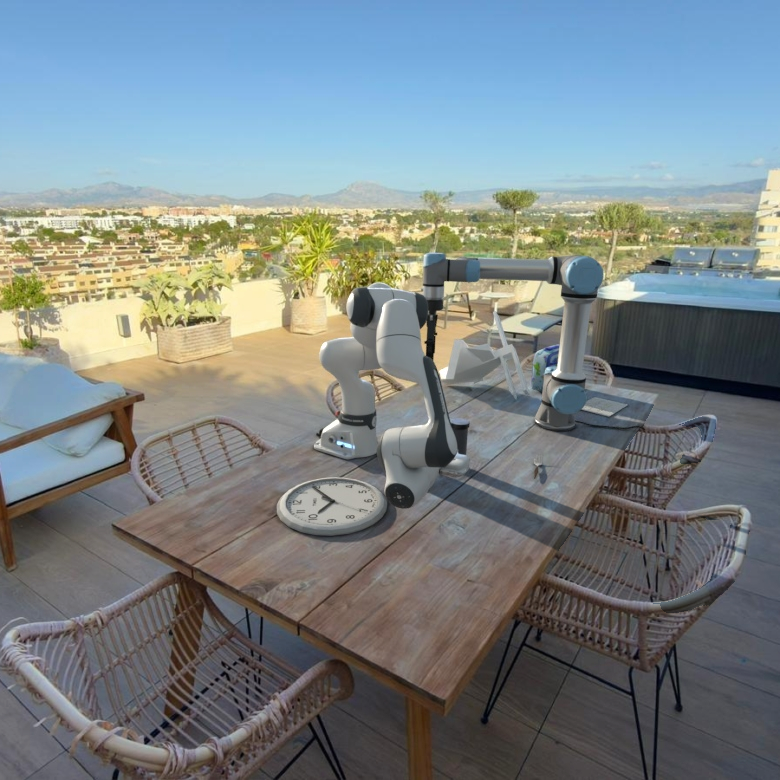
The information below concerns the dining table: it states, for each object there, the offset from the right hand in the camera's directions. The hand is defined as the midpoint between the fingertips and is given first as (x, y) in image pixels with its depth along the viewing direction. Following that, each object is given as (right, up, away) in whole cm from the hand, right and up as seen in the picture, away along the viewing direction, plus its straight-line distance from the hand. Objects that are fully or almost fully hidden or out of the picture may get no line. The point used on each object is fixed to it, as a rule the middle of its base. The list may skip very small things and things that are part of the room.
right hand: (430, 357), depth 190 cm
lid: (+7, -22, -28) cm, 36 cm away
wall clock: (-30, -43, -47) cm, 71 cm away
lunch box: (+63, -12, +60) cm, 88 cm away
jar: (+7, -37, -23) cm, 44 cm away
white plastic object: (+27, -13, +54) cm, 61 cm away
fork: (+32, -37, -24) cm, 55 cm away
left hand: (-1, -28, -47) cm, 54 cm away
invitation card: (+77, -19, +37) cm, 87 cm away
